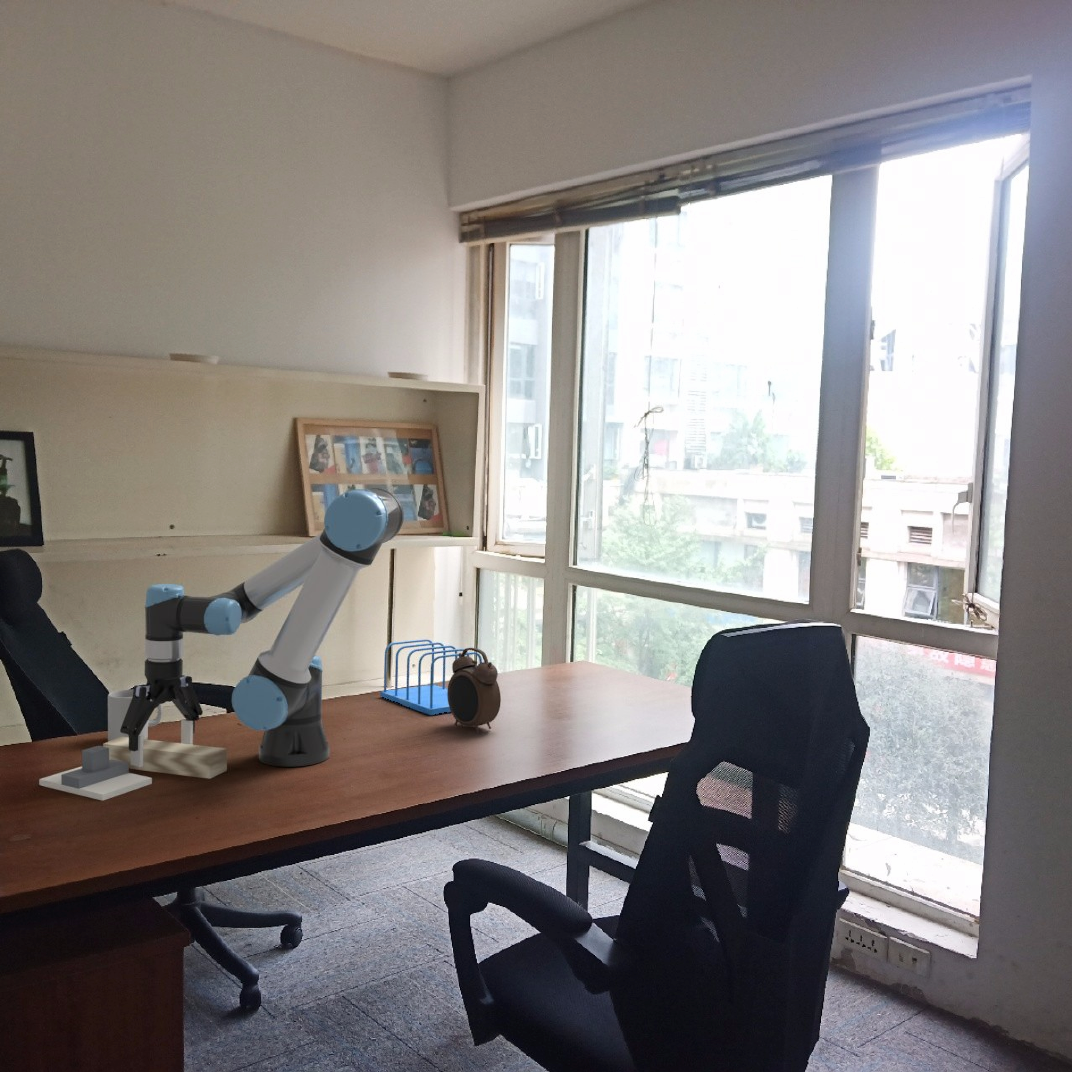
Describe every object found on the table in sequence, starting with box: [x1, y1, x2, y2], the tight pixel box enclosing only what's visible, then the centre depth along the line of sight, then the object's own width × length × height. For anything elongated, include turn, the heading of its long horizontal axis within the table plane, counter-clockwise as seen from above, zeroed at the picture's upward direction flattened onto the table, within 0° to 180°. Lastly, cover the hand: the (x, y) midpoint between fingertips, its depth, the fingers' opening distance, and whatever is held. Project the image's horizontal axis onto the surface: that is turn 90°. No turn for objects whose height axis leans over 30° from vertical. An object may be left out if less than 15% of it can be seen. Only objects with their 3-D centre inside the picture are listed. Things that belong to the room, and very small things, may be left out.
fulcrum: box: [38, 745, 153, 801], centre depth 211 cm, size 18×12×7 cm, turn 62°
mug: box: [107, 689, 163, 742], centre depth 243 cm, size 12×8×11 cm
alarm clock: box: [447, 647, 502, 734], centre depth 258 cm, size 15×7×20 cm, turn 43°
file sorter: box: [380, 638, 483, 716], centre depth 285 cm, size 25×17×15 cm
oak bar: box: [102, 737, 228, 779], centre depth 223 cm, size 26×6×5 cm, turn 73°
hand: (162, 757), depth 223 cm, fingers open, 13 cm apart
